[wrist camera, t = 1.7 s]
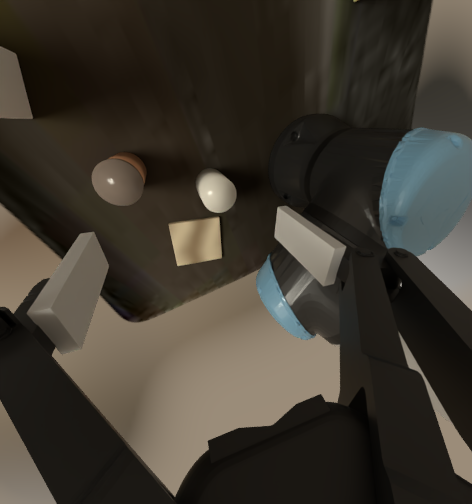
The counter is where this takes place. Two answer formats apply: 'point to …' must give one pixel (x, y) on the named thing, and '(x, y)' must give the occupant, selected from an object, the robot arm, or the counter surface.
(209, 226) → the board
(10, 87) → the milk
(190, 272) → the counter surface
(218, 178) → the white rounded cylinder
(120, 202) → the jar
